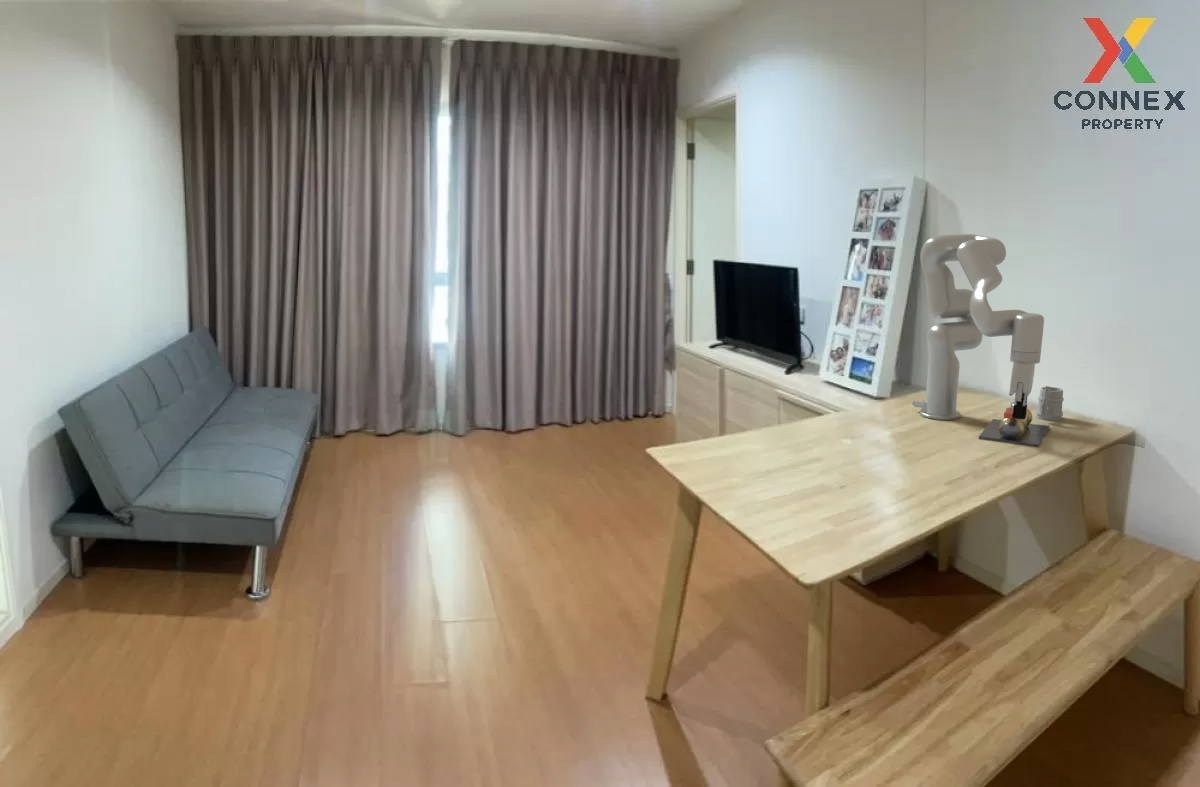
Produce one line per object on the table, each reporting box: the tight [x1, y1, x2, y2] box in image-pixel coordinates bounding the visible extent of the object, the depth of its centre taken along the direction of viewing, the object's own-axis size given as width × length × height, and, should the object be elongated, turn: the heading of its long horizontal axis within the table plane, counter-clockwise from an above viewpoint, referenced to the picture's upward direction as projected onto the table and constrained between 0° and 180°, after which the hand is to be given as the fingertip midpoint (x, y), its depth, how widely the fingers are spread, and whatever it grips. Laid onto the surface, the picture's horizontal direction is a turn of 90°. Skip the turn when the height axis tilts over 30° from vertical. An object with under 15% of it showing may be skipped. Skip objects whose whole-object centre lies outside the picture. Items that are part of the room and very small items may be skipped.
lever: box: [1003, 401, 1015, 419], centre depth 223 cm, size 15×4×2 cm, turn 140°
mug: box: [1035, 385, 1064, 422], centre depth 241 cm, size 8×12×12 cm, turn 136°
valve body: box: [978, 407, 1050, 448], centre depth 228 cm, size 16×22×8 cm
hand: (1019, 417), depth 218 cm, fingers closed
